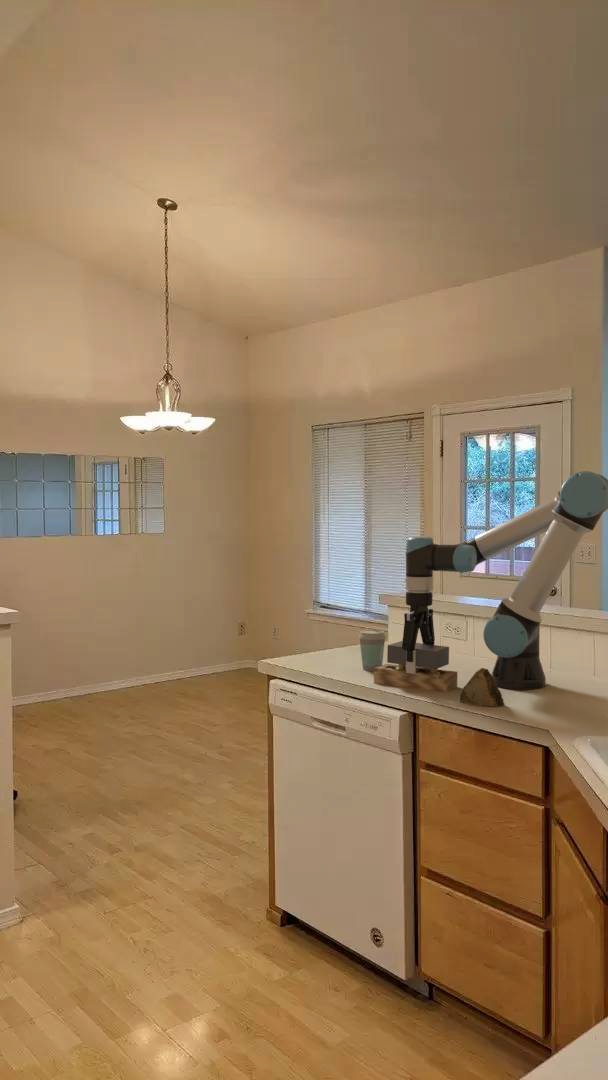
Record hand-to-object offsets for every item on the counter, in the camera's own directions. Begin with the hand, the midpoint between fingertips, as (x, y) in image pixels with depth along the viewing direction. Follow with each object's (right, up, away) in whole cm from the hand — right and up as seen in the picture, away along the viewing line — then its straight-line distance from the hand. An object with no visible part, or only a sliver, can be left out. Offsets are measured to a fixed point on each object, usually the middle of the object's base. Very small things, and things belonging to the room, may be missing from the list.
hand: (418, 670), depth 243 cm
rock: (+13, -6, -22) cm, 26 cm away
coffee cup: (-11, -4, +25) cm, 27 cm away
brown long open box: (-1, -4, +1) cm, 5 cm away
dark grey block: (0, -2, 0) cm, 2 cm away
